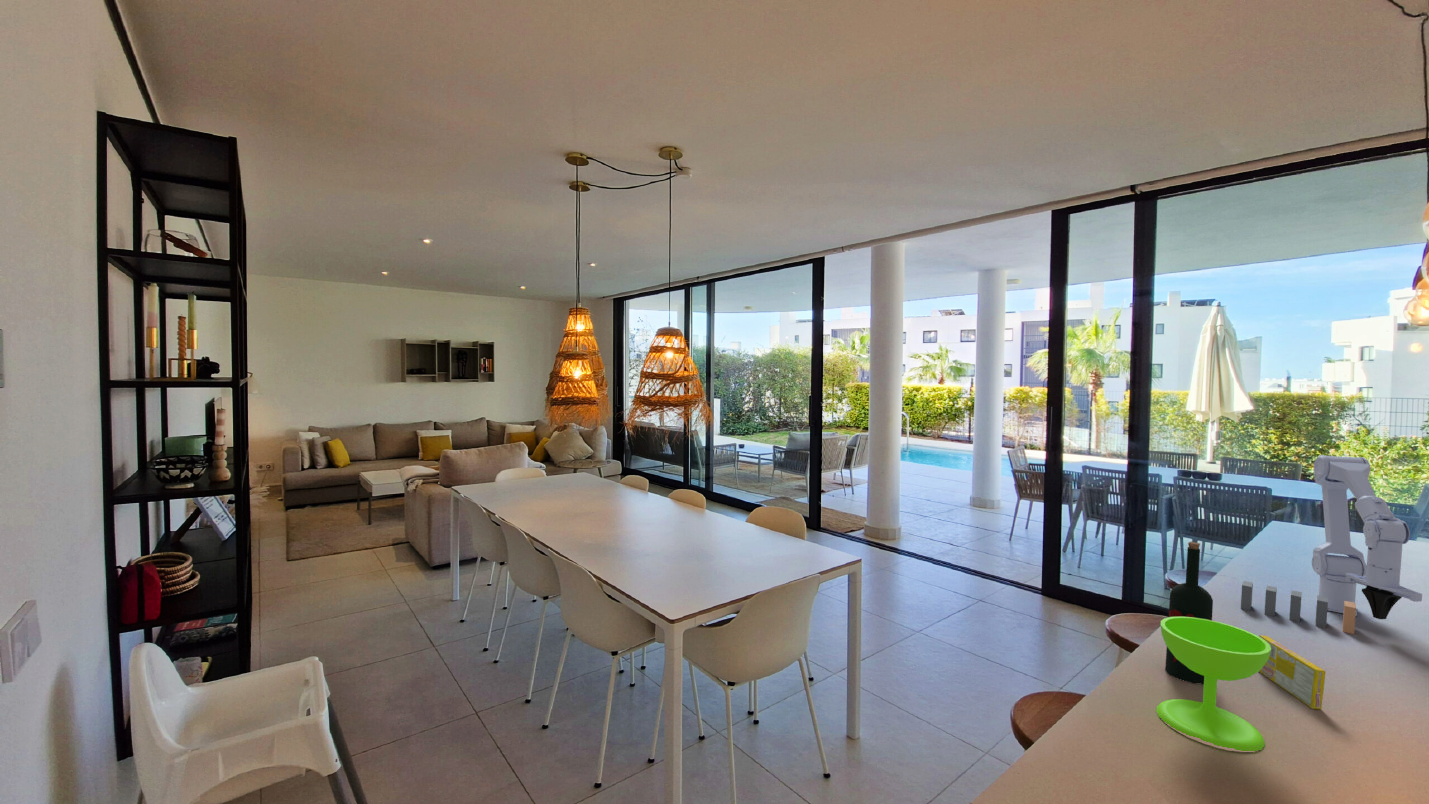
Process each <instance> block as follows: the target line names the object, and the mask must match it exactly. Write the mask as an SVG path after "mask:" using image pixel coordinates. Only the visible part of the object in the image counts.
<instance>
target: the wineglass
mask: <svg viewBox="0 0 1429 804" xmlns="http://www.w3.org/2000/svg"><path fill="white" fill-rule="evenodd" d="M1160 631H1161V636H1162V639H1163V641H1164V644H1165V646H1166V648H1167V647H1168V649H1169V650H1170V651H1171V652H1172V654H1173V655H1174V656H1175V658H1176V659H1177V660H1179V661H1180V662H1181V663H1183V664H1184V665H1185V666H1186V667H1188V668H1189V669H1190V670H1192V671H1194V672H1196V673H1198V674H1201V675H1203V676H1204V684H1203V693H1202V694H1203V695H1202V701H1197V700H1191V699H1182V698H1177V699H1175V698H1172V699H1167V700H1163V701H1162V702H1160V703H1159V704H1158V705H1157V706H1156V708H1157V710H1156V709H1155V710H1156V711H1155V713H1156V712H1157V713H1158V715H1157V717H1158V716H1159V717H1160V718H1161V719H1162V720H1163V721H1164V722H1166V723H1167V724H1169V725H1170V726H1171V727H1173V728H1175V729H1176V730H1178V731H1181V732H1182V733H1185V734H1186V735H1189V736H1193V737H1197V738H1200V739H1201V740H1203V741H1206V742H1210V743H1213V744H1214V745H1217V746H1222V747H1227V748H1234V749H1236V750H1241V751H1257V750H1260V751H1262V750H1263V749H1264V748H1265V746H1266V744H1265V740H1264V739H1265V738H1264V736H1263V735H1262V734H1261V732H1260V731H1259V730H1258V729H1257V728H1256V727H1255V726H1253V724H1251V723H1250V722H1249V721H1247V720H1245V719H1243V717H1241V716H1238V715H1237V714H1236V713H1235V714H1234V713H1233V712H1230V711H1228V710H1226V709H1224V708H1221V707H1218V706H1217V689H1218V680H1219V681H1227V682H1228V681H1230V682H1231V681H1238V680H1243V679H1244V680H1245V679H1247V678H1250V677H1252V676H1254V675H1255V674H1257V673H1260V672H1259V671H1260V670H1261V669H1262V667H1263V666H1264V665H1265V664H1266V662H1267V661H1268V659H1269V656H1270V652H1271V647H1270V645H1269V644H1268V643H1267V642H1266V641H1265V640H1264V639H1262V638H1260V637H1259V635H1257V634H1255V633H1252V632H1250V631H1247V630H1245V629H1242V628H1240V627H1236V626H1234V625H1231V624H1227V623H1224V622H1220V621H1216V620H1213V619H1212V620H1207V619H1201V618H1194V617H1181V616H1180V617H1169V616H1167V617H1165V618H1163V619H1161V620H1160ZM1159 717H1158V718H1159ZM1263 747H1264V748H1263ZM1262 748H1263V749H1262ZM1257 752H1258V751H1257Z"/></svg>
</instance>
